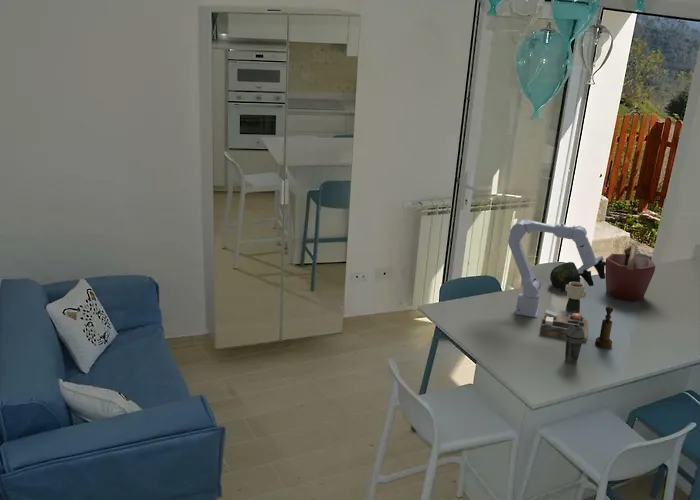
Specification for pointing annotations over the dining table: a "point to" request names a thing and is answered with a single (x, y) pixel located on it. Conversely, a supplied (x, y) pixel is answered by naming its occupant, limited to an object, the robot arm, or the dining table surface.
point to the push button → (576, 316)
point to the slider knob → (549, 321)
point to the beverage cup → (573, 343)
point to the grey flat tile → (551, 313)
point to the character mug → (574, 295)
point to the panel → (562, 326)
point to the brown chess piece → (605, 330)
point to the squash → (564, 275)
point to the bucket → (628, 275)
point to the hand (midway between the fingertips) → (597, 282)
